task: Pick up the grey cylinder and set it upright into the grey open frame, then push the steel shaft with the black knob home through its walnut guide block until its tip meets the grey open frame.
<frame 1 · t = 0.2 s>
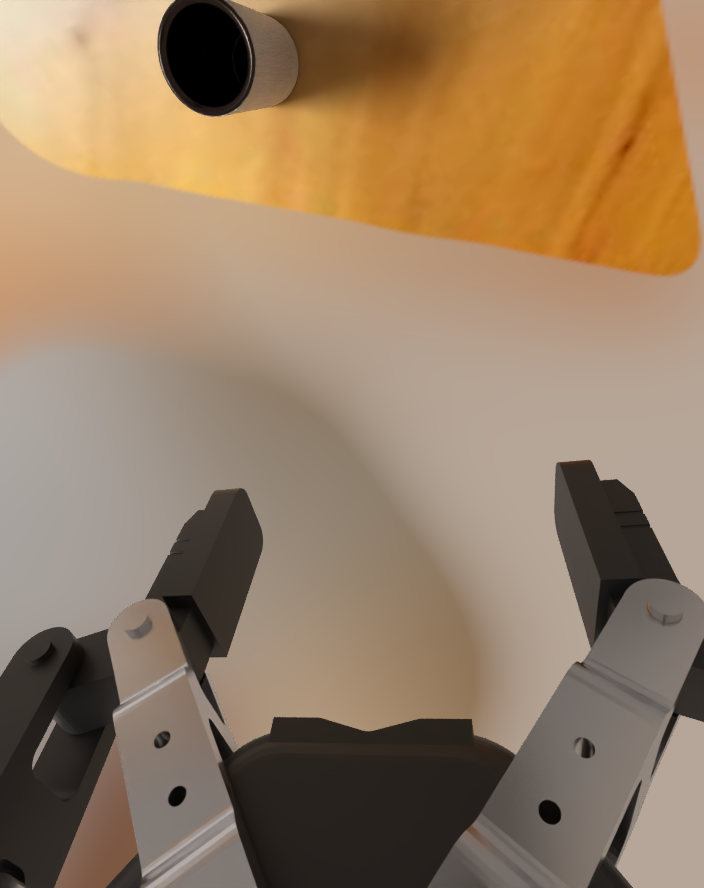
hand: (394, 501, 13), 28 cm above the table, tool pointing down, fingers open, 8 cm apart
grey cylinder: (263, 62, 32), on the table
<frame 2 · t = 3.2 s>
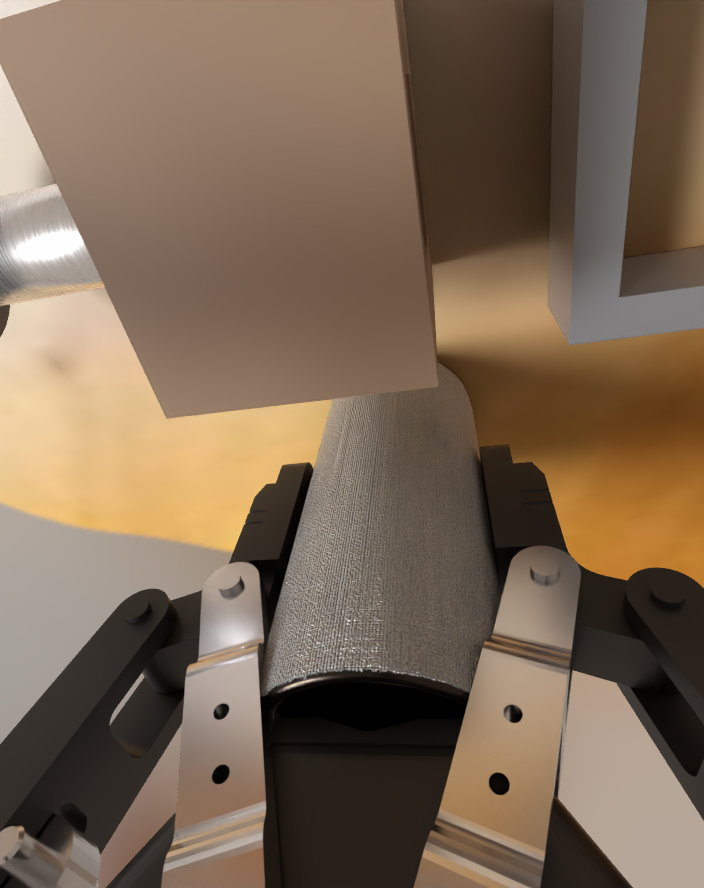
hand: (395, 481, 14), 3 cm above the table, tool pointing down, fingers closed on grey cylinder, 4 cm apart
shaft: (61, 241, 11), point 4 cm above the table, slide at 5.0 cm
grey cylinder: (401, 411, 17), on the table, touching gripper
guide block: (317, 165, 13), on the table
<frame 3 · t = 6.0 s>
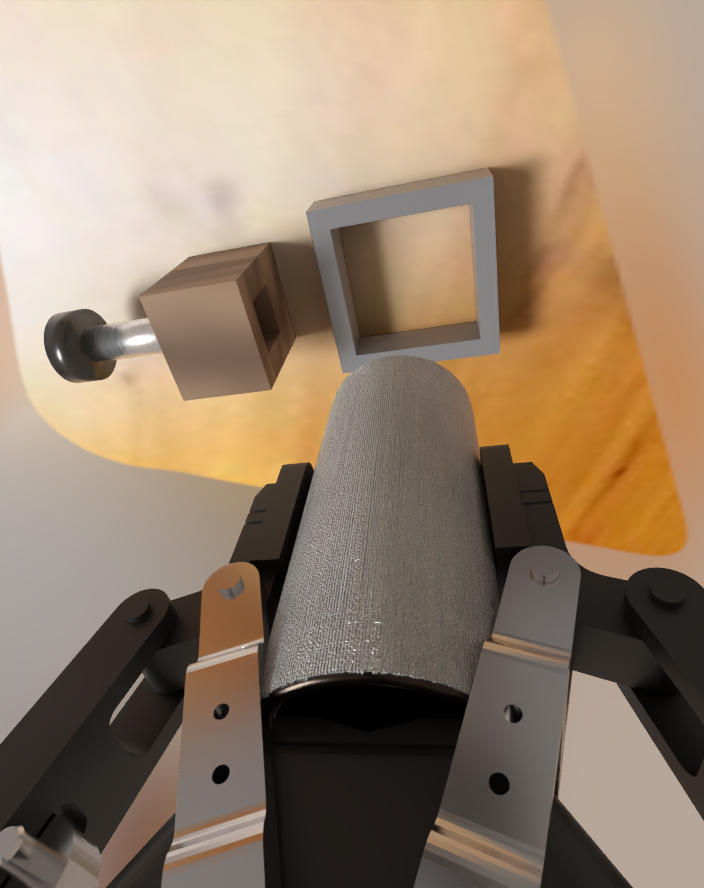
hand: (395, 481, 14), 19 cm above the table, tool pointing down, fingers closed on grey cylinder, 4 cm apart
shaft: (144, 337, 29), point 4 cm above the table, slide at 5.0 cm
grey cylinder: (401, 413, 17), point 15 cm above the table, touching gripper
guide block: (244, 298, 31), on the table
grey open frame: (409, 271, 29), on the table
when the fingers open (5 cm above the table, at t = 8.8 s): grey cylinder drops 1 cm, resting in grey open frame.
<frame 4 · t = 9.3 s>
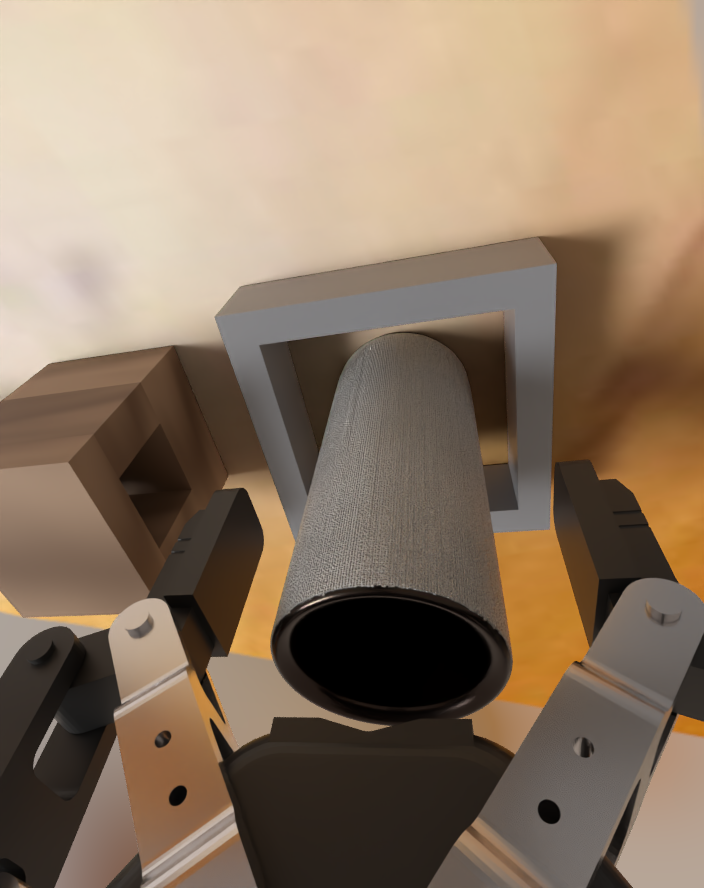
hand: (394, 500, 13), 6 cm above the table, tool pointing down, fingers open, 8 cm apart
grey cylinder: (403, 389, 18), resting in grey open frame
guide block: (143, 423, 20), on the table
grey open frame: (401, 393, 18), on the table
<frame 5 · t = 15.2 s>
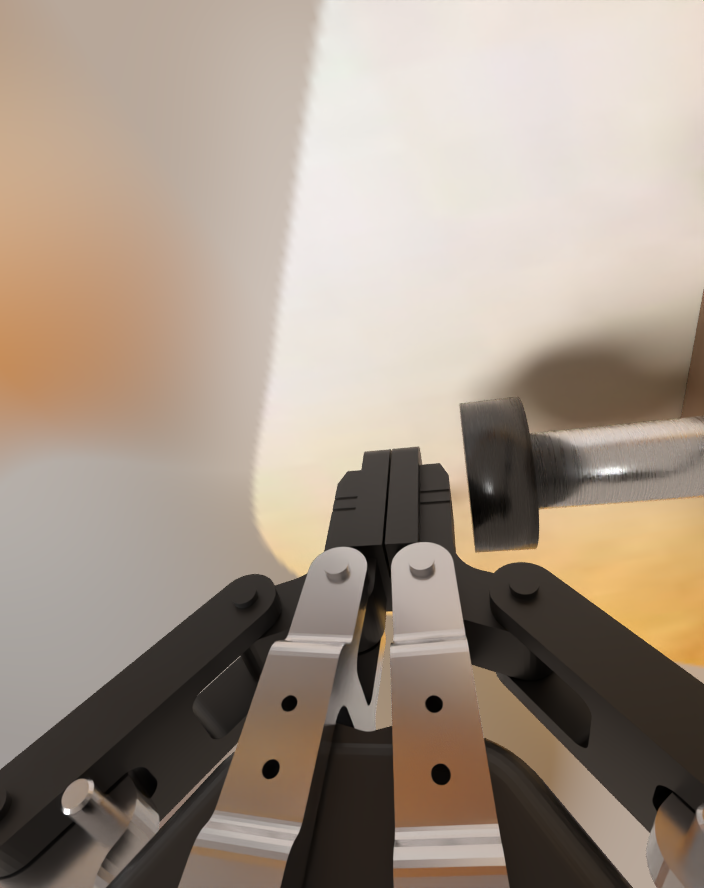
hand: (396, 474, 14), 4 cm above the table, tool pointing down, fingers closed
shaft: (659, 460, 13), point 4 cm above the table, slide at 4.9 cm, touching gripper
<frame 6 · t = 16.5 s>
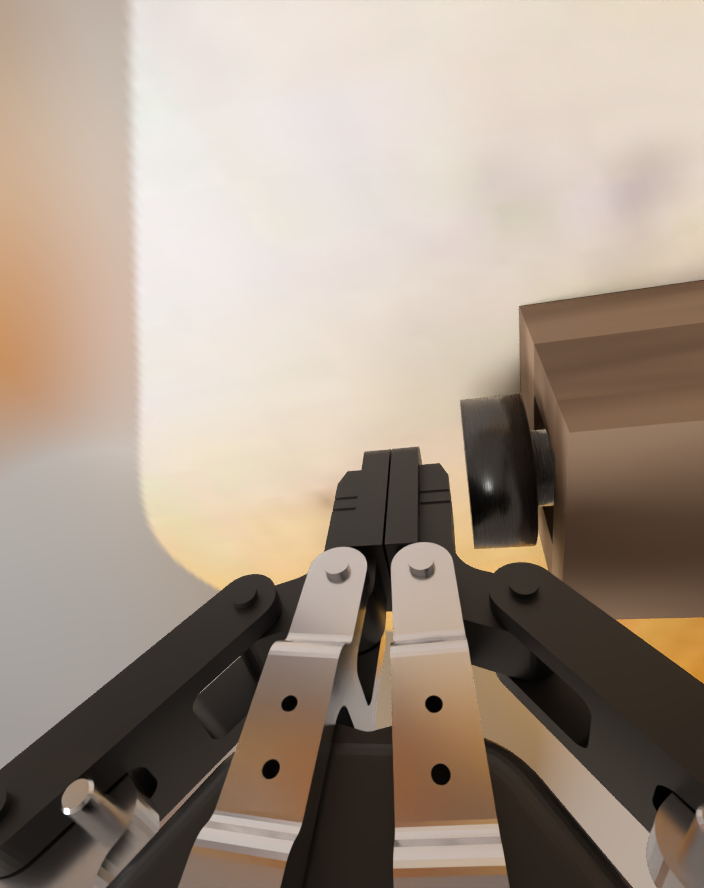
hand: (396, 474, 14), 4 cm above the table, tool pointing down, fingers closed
shaft: (659, 458, 13), point 4 cm above the table, slide at 0.0 cm, touching gripper
guide block: (602, 382, 16), on the table
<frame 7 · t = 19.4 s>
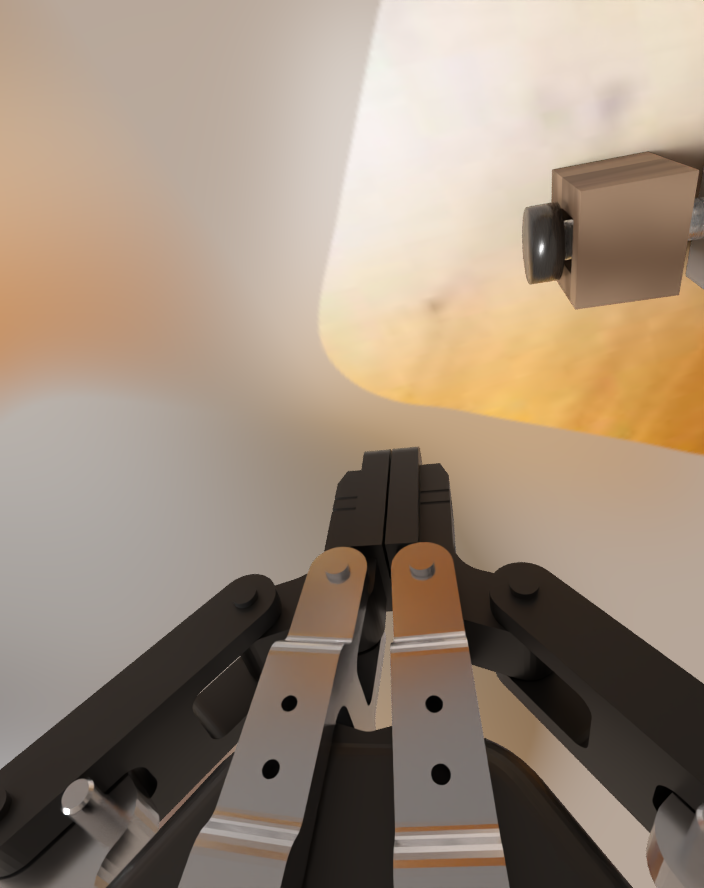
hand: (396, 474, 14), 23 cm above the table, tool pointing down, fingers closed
shaft: (621, 231, 27), point 4 cm above the table, slide at 0.0 cm
guide block: (595, 215, 31), on the table
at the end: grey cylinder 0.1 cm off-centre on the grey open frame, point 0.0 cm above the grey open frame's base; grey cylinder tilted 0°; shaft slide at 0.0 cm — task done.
